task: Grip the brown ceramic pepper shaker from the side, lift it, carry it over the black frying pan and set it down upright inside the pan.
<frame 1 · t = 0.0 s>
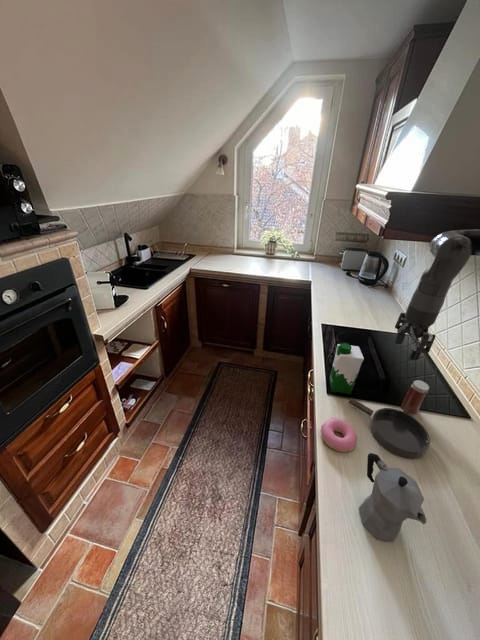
hand: (405, 351, 80), 25 cm above the worktop, tool pointing down, fingers open, 8 cm apart
pan: (396, 435, 83), on the worktop
milk carton: (339, 387, 101), on the worktop
shaker: (408, 409, 92), on the worktop
doughnut: (337, 438, 82), on the worktop
coffeepot: (375, 515, 63), on the worktop
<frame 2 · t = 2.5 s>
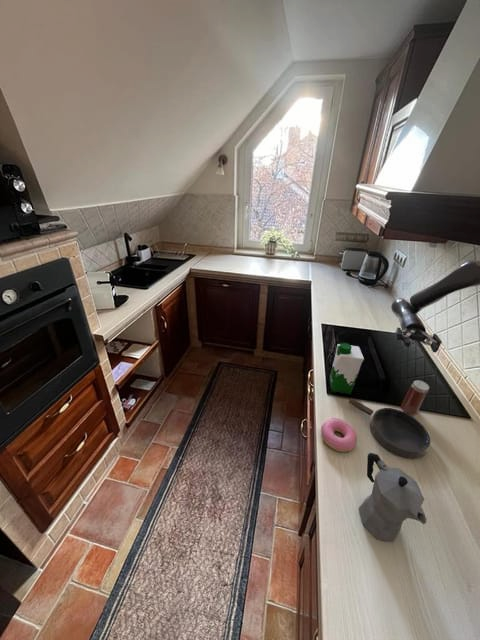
hand: (422, 347, 91), 20 cm above the worktop, tool horizontal, fingers open, 8 cm apart
nothing on the worktop moved.
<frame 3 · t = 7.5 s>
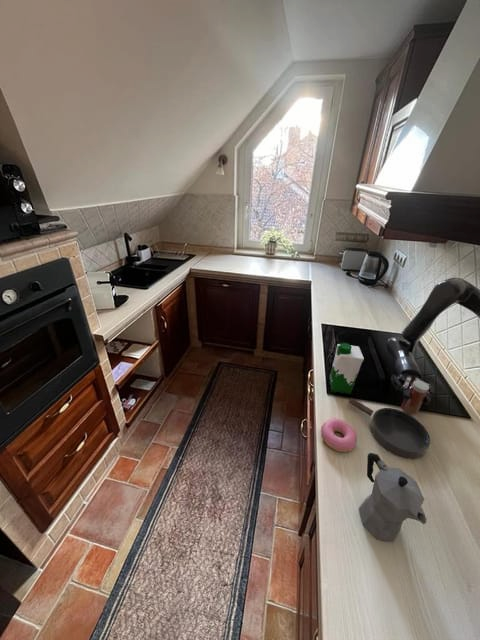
hand: (417, 400, 87), 7 cm above the worktop, tool horizontal, fingers closed on shaker, 5 cm apart
shaker: (408, 409, 92), on the worktop, touching gripper
everything else where it was.
when the fingers open (8 cm above the worktop, at t = 15.0 s): shaker stays where it is, resting on pan.
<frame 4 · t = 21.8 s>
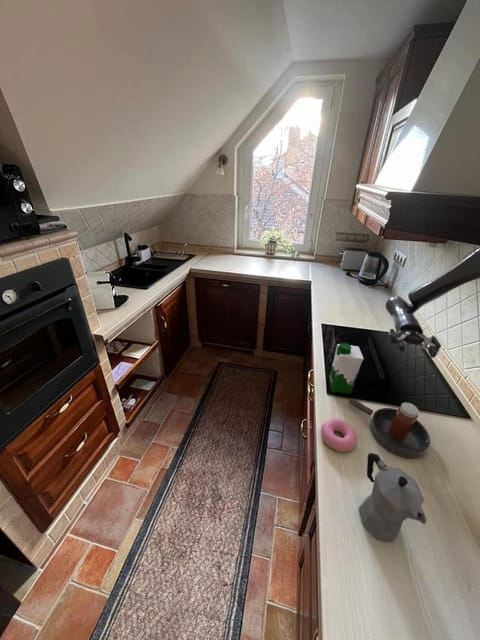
hand: (418, 352, 79), 26 cm above the worktop, tool horizontal, fingers open, 8 cm apart
shaker: (396, 433, 83), point 1 cm above the worktop, touching pan
everything else where it was.
at the end: shaker inside the target area in the pan (0.1 cm from its centre), point 0.6 cm above the pan's base; shaker tilted 0°; the gripper is holding nothing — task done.
